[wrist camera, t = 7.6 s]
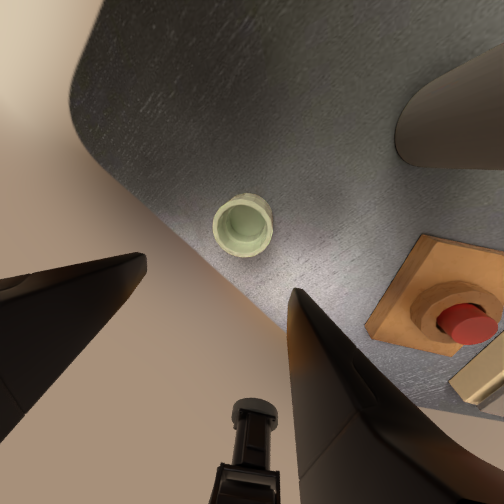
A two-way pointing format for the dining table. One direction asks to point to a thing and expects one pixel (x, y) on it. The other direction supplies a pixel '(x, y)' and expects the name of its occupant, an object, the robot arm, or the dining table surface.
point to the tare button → (467, 324)
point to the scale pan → (493, 403)
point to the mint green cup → (243, 225)
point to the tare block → (437, 293)
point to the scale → (481, 373)
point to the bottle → (457, 118)
